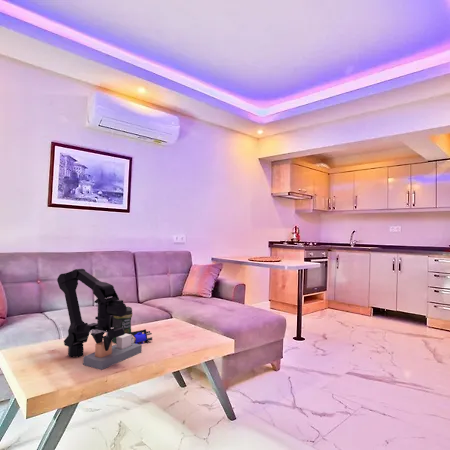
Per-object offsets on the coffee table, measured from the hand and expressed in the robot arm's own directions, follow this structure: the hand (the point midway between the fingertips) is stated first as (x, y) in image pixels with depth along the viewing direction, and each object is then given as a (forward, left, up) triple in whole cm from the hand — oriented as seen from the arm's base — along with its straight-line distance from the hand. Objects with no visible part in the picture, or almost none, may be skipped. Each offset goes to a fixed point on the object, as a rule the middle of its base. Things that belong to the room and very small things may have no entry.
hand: (103, 349), depth 146 cm
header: (0, +6, -6) cm, 9 cm away
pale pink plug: (0, +12, -5) cm, 13 cm away
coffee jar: (-15, +26, -7) cm, 31 cm away
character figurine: (-5, +27, -7) cm, 29 cm away
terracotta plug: (0, 0, -5) cm, 5 cm away
